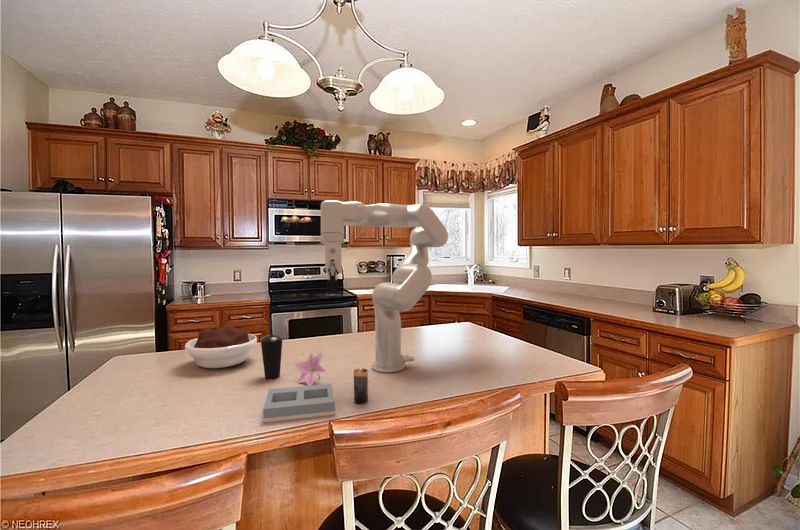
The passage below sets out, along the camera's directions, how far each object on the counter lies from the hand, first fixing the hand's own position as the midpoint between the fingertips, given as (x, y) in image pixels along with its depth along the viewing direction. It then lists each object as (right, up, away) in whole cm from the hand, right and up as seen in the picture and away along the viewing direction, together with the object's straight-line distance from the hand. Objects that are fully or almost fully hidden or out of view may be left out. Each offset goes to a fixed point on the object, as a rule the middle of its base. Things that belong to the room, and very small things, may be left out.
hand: (332, 291), depth 122 cm
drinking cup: (-22, -31, +7) cm, 38 cm away
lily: (-8, -31, +2) cm, 32 cm away
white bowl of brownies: (-46, -30, +22) cm, 59 cm away
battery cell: (+11, -31, -14) cm, 35 cm away
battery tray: (-6, -31, -18) cm, 36 cm away
